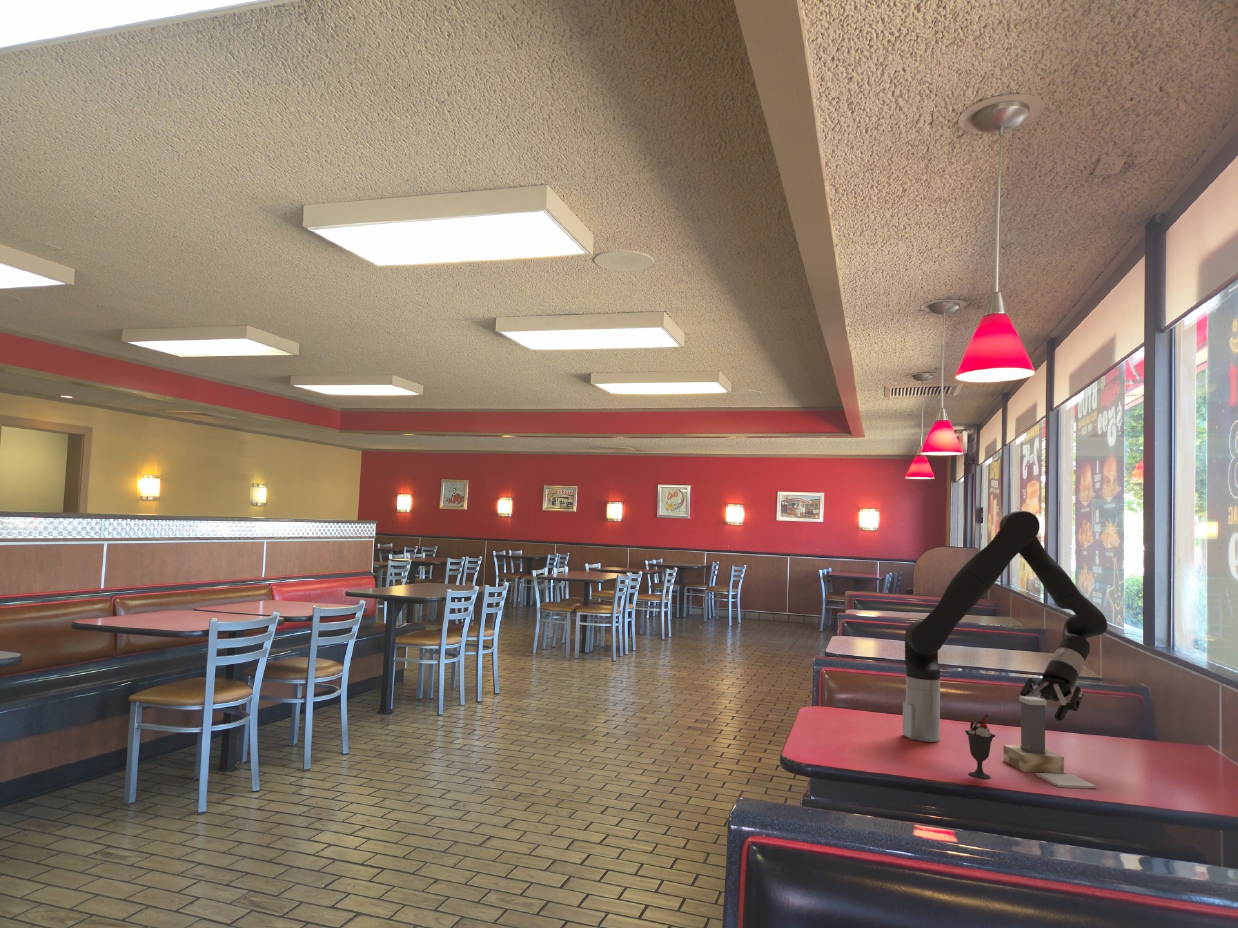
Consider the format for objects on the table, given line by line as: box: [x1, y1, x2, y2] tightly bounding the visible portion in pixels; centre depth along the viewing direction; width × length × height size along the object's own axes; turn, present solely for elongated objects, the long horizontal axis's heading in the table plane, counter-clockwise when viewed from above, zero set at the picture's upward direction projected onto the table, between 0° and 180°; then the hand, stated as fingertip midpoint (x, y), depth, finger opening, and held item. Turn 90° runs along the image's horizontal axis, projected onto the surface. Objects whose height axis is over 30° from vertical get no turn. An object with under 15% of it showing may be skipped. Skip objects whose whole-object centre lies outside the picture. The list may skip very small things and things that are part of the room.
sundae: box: [964, 714, 996, 780], centre depth 188 cm, size 7×7×15 cm
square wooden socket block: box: [1003, 744, 1065, 774], centre depth 198 cm, size 10×10×4 cm
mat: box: [1035, 772, 1097, 789], centre depth 186 cm, size 9×9×1 cm
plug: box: [1018, 695, 1048, 754], centre depth 198 cm, size 5×5×17 cm
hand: (1040, 715), depth 201 cm, fingers open, 8 cm apart
